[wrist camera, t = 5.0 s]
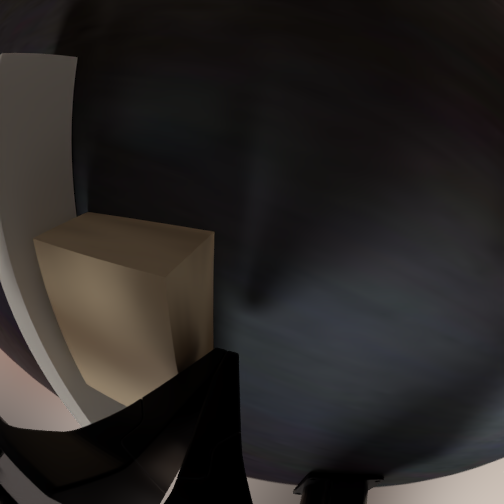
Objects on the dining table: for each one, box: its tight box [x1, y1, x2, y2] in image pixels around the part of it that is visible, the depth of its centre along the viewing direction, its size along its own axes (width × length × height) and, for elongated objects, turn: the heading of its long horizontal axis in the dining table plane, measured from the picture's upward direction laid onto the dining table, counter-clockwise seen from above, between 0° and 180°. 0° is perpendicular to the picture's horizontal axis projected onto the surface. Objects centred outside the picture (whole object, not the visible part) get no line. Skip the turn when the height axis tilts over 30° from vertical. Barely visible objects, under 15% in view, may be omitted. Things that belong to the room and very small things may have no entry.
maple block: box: [33, 212, 214, 406], centre depth 10 cm, size 8×6×4 cm
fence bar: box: [0, 53, 127, 427], centre depth 10 cm, size 22×2×4 cm, turn 176°
